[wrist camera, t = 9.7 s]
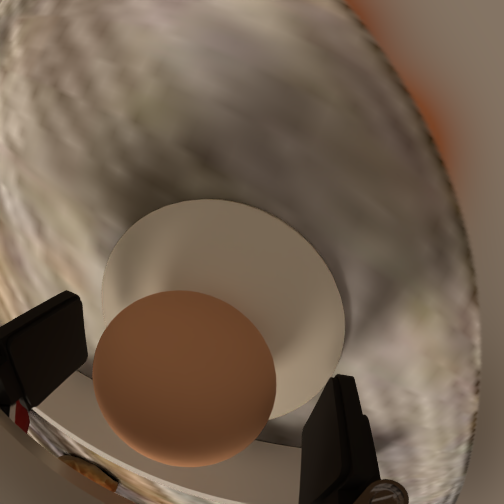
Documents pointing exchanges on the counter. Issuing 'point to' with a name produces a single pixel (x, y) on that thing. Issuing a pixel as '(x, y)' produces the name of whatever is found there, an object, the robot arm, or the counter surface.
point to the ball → (184, 378)
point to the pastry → (90, 471)
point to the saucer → (239, 283)
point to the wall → (179, 478)
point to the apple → (21, 417)
